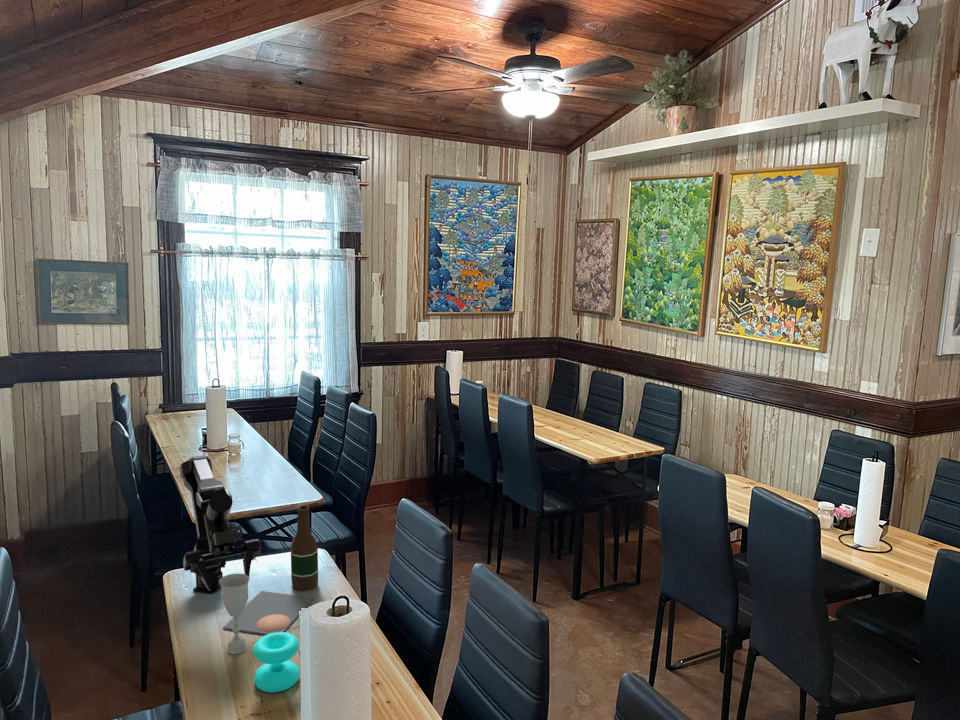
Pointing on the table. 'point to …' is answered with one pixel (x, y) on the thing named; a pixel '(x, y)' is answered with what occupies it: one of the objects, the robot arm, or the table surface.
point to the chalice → (235, 606)
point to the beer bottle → (304, 554)
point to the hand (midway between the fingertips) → (228, 585)
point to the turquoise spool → (276, 662)
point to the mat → (270, 613)
